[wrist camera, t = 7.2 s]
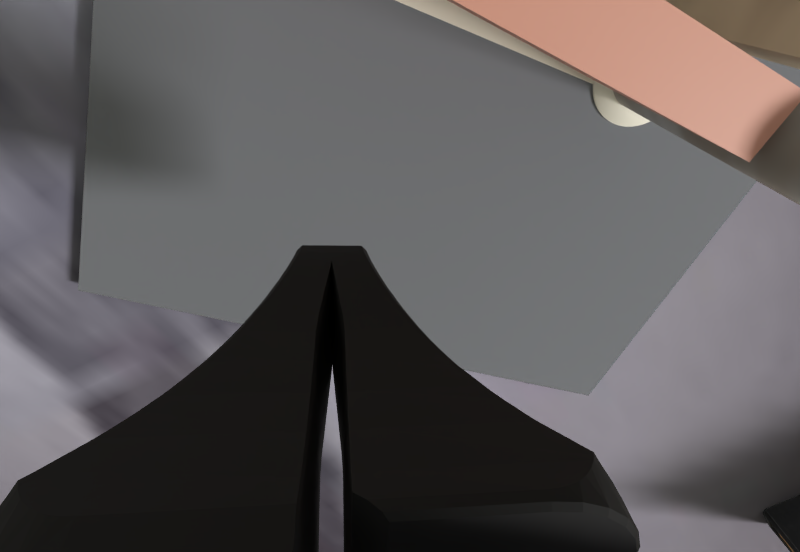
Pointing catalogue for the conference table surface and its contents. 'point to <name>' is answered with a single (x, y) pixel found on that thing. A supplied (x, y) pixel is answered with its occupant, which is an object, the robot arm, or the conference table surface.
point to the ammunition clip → (786, 522)
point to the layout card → (388, 175)
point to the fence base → (762, 38)
